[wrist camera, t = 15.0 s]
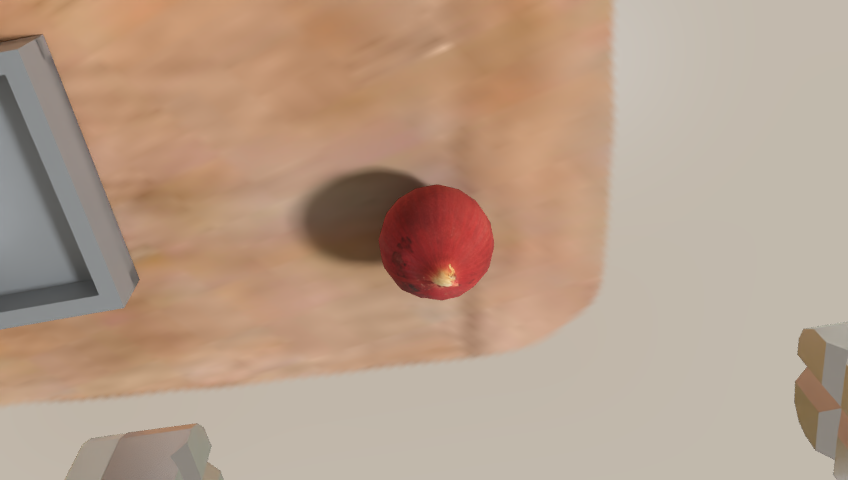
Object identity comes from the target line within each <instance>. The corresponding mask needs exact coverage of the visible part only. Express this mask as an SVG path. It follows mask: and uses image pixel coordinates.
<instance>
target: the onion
mask: <svg viewBox="0 0 848 480" xmlns="http://www.w3.org/2000/svg"><path fill="white" fill-rule="evenodd" d="M379 245H380V251H381V258H382V262H383V265H384V268H385V269H386V271H387V272H388V273H389V275H390V276H391V277H392V279H393V280H394V281H395V282H396V284H397V285H398V286H399V287H400V288H401V289H402V290H404V291H406V292H409V293H411V294H413V295H416V296H418V297H420V298H429V299H436V300H446V299H450V298H454V297H458V296H460V295H462V294H463V293H465V292H466V291H468V290H469V289H471V288H472V287H474V286H475V285H476V283H477V282H478V281H479V280H480V279H481V278H482V276H483V275H484V274H485V273H486V272H487V270H488V268H489V266H490V261H491V257H492V253H493V248H494V239H493V234H492V229H491V224H490V221H489V220H488V218H487V216H486V215H485V213H484V212H483V210H482V209H481V208H480V206H479V205H478V203H477V202H476V201H475V200H474V199H472V198H471V197H469V196H468V195H466V194H465V193H463V192H462V191H460V190H459V189H455V188H451V187H446V186H442V185H432V186H426V187H421V188H416V189H414V190H412V191H411V192H409V193H407V194H406V195H404V196H402V197H400V198H399V199H398V200H397V201H396V202H395V204H394V205H393V206H392V207H391V208H390V210H389V211H388V212H387V213H386V216H385V219H384V222H383V226H382V230H381V233H380V237H379Z"/></svg>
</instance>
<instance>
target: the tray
mask: <svg viewBox="0 0 848 480" xmlns="http://www.w3.org/2000/svg"><path fill="white" fill-rule="evenodd" d="M138 281H139V277H138V275H137V272H136V270H135V267H134V264H133V262H132V259H131V257H130V254H129V252H128V249H127V247H126V244H125V242H124V239H123V237H122V234H121V231H120V229H119V226H118V224H117V221H116V219H115V216H114V214H113V211H112V209H111V206H110V203H109V201H108V198H107V196H106V193H105V191H104V188H103V186H102V183H101V181H100V178H99V175H98V173H97V170H96V168H95V165H94V163H93V160H92V158H91V155H90V153H89V150H88V148H87V145H86V142H85V140H84V137H83V135H82V132H81V130H80V127H79V125H78V122H77V120H76V117H75V114H74V112H73V109H72V107H71V104H70V102H69V99H68V97H67V94H66V92H65V89H64V87H63V84H62V81H61V79H60V76H59V74H58V71H57V69H56V66H55V64H54V61H53V59H52V56H51V53H50V51H49V48H48V46H47V43H46V41H45V38H44V36H43V35H38V36H32V37H27V38H21V39H16V40H11V41H5V42H0V329H6V328H11V327H17V326H23V325H29V324H34V323H40V322H46V321H52V320H57V319H63V318H69V317H75V316H80V315H86V314H92V313H98V312H103V311H109V310H115V309H120V308H124V307H125V305H126V304H127V302H128V300H129V298H130V296H131V294H132V293H133V291H134V289H135V287H136V285H137V283H138Z"/></svg>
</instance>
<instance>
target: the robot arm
mask: <svg viewBox="0 0 848 480" xmlns="http://www.w3.org/2000/svg"><path fill="white" fill-rule="evenodd" d="M797 355H798V356H799V357H800V358H801V359H802V361H803V362H804V363H805V365H806V366H807V368H806V369H805V370H804V371H803V372H802V374H801V375H800V376H799V377H798V379H797V380H796V381H795V398H794V402H795V407H796V411H797V416H798V420H799V423H800V425H801V427H802V429H803V432H804V434H805V436H806V437H807V439H808V440H809V442H810V443H811V445H812V446H813V448H814V449H815V450H816V451H818V452H820V453H822V454H824V455H826V456H828V457H830V458H832V459H834V460H835V463H834V472H833V475H834V477H835V478H836V479H837V480H848V322H843V323H837V324H830V325H824V326H818V327H812V328H806V329H803V331H802V333H801V336H800V338H799V343H798V354H797ZM210 449H211V444H210V442H209V439H208V436H207V434H206V432H205V429H204V427H202V426H201V425H199V424H189V425H182V426H174V427H167V428H159V429H152V430H144V431H137V432H129V433H126V434H117V435H110V436H104V437H97V438H91V439H90V440H88V441H87V442H85V443H84V444H83V445H82V446H81V448H80V450H79V452H78V454H77V456H76V458H75V460H74V462H73V464H72V467H71V468H70V470H69V472H68V474H67V476H66V478H65V480H223V476H222V474H221V471H220V470H219V469H217V468H216V467H214V466H213V465H211V464H210V463H208V462H207V460H208V457H209V453H210Z"/></svg>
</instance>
